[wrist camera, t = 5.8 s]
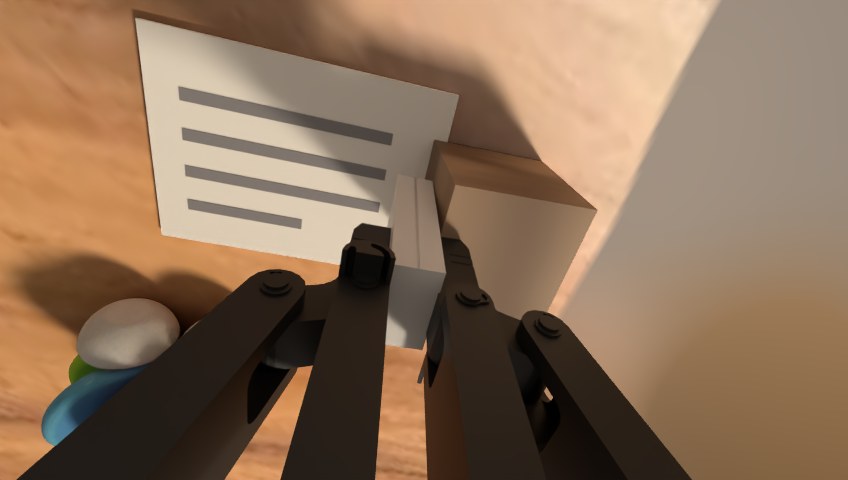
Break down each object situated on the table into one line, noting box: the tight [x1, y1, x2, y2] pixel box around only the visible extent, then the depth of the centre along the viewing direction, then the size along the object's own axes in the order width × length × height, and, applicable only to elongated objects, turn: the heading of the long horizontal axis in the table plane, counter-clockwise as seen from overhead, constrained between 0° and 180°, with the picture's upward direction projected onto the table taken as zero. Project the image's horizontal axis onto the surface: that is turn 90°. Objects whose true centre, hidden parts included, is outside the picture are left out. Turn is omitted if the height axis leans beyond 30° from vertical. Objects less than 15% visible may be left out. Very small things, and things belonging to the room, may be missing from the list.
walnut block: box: [425, 140, 597, 320], centre depth 16 cm, size 5×5×5 cm
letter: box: [135, 18, 459, 265], centre depth 17 cm, size 12×9×1 cm
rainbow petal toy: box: [41, 298, 200, 446], centre depth 19 cm, size 8×10×7 cm
